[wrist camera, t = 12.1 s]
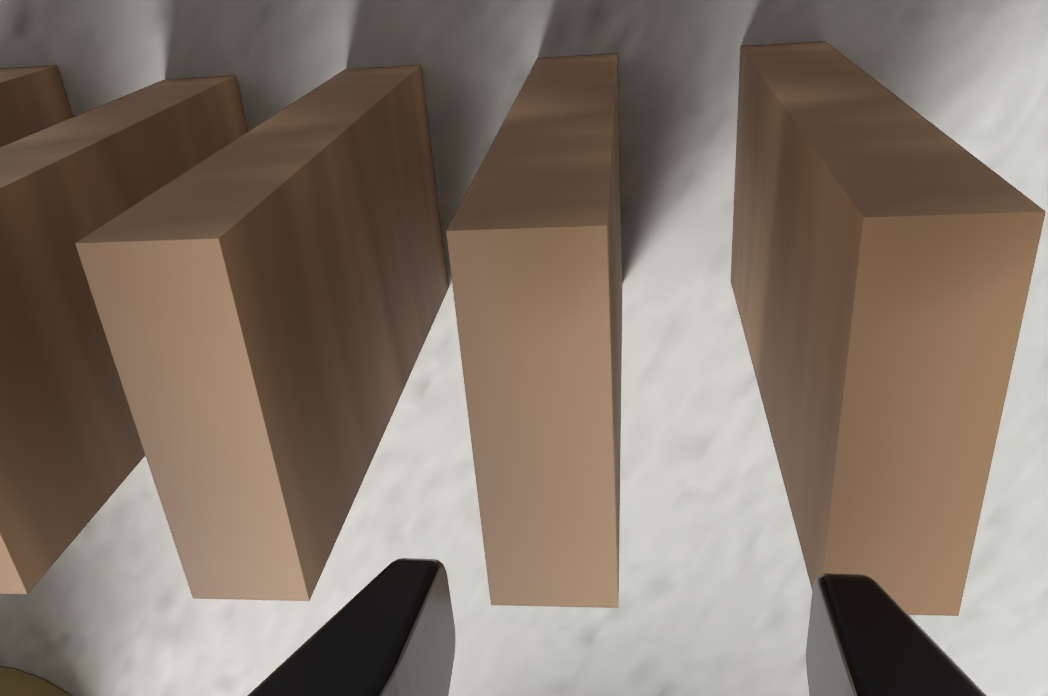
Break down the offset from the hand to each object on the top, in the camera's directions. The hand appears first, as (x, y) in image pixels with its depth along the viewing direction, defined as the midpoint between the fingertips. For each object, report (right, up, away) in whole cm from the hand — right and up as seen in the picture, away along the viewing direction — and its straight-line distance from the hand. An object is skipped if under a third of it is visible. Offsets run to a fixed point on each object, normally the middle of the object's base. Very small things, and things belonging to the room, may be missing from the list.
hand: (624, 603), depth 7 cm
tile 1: (+4, +6, +11) cm, 13 cm away
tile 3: (-4, +6, +12) cm, 13 cm away
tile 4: (-8, +6, +12) cm, 15 cm away
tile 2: (0, +6, +11) cm, 13 cm away
